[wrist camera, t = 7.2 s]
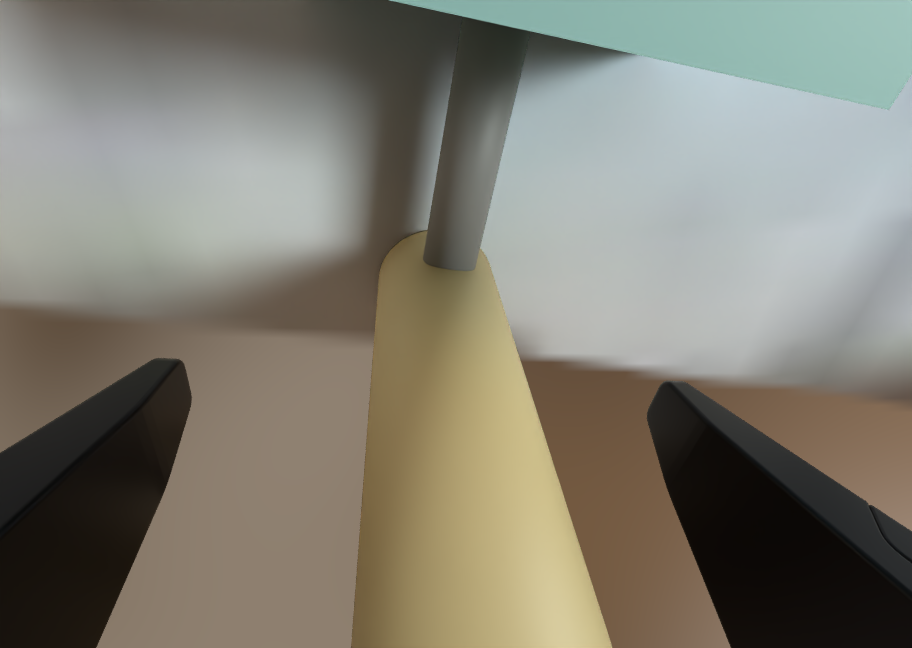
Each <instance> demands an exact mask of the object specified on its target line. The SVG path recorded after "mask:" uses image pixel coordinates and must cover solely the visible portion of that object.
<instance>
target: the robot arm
mask: <svg viewBox="0 0 912 648" xmlns="http://www.w3.org/2000/svg"><path fill="white" fill-rule="evenodd" d="M191 398H192V397H191V391H190V386H189V382H188V378H187V373H186V369H185V366H184V363H183V362H182V361H181V360H179V359H166V358H157V359H153V360H151V361H150V362H148V363H146V364H145V365H143V366H141V367H140V368H138V369H136V370H135V371H133V372H132V373H130V374H128V375H127V376H125V377H123V378H122V379H120V380H118V381H117V382H115V383H113V384H112V385H110V386H109V387H107V388H105V389H104V390H102V391H100V392H99V393H97V394H96V395H94V396H92V397H91V398H89V399H88V400H86V401H84V402H82V403H81V404H79V405H78V406H76V407H74V408H73V409H71V410H69V411H68V412H66V413H65V414H63V415H61V416H60V417H58V418H56V419H55V420H53V421H51V422H50V423H48V424H46V425H45V426H43V427H42V428H40V429H38V430H37V431H35V432H33V433H32V434H30V435H29V436H27V437H25V438H24V439H22V440H21V441H19V442H17V443H15V444H14V445H12V446H11V447H9V448H7V449H6V450H4V451H2V452H1V453H0V648H96V647H97V645H98V642H99V640H100V638H101V636H102V633H103V631H104V629H105V627H106V624H107V622H108V620H109V617H110V615H111V613H112V610H113V608H114V606H115V604H116V601H117V599H118V597H119V594H120V592H121V590H122V588H123V585H124V583H125V581H126V578H127V576H128V574H129V572H130V569H131V567H132V565H133V562H134V560H135V558H136V555H137V553H138V551H139V549H140V546H141V544H142V542H143V540H144V537H145V535H146V533H147V530H148V528H149V526H150V524H151V521H152V519H153V516H154V514H155V512H156V510H157V507H158V505H159V503H160V501H161V498H162V496H163V493H164V491H165V488H166V486H167V482H168V480H169V477H170V474H171V470H172V466H173V464H174V460H175V457H176V454H177V450H178V447H179V444H180V441H181V437H182V434H183V431H184V427H185V424H186V420H187V417H188V414H189V411H190V407H191ZM647 421H648V425H649V428H650V432H651V435H652V439H653V442H654V446H655V449H656V452H657V456H658V460H659V463H660V467H661V470H662V473H663V477H664V480H665V483H666V486H667V489H668V492H669V495H670V498H671V500H672V503H673V505H674V508H675V510H676V512H677V515H678V518H679V520H680V522H681V525H682V528H683V530H684V532H685V535H686V537H687V540H688V542H689V545H690V547H691V550H692V552H693V555H694V557H695V560H696V562H697V565H698V567H699V570H700V572H701V575H702V577H703V580H704V582H705V584H706V587H707V590H708V592H709V594H710V597H711V599H712V602H713V604H714V607H715V609H716V612H717V614H718V617H719V619H720V622H721V624H722V627H723V629H724V631H725V634H726V637H727V639H728V642H729V644H730V647H731V648H912V531H910V530H909V529H907V528H906V527H904V526H903V525H901V524H899V523H898V522H897V521H895V520H893V519H892V518H890V517H889V516H887V515H886V514H884V513H883V512H881V511H880V510H878V509H877V508H875V507H874V506H872V505H868V503H867V502H866V501H865V500H863V499H862V498H860V497H859V496H857V495H856V494H854V493H852V492H851V491H850V490H848V489H846V488H845V487H843V486H842V485H840V484H839V483H837V482H836V481H834V480H833V479H831V478H830V477H828V476H827V475H825V474H824V473H822V472H821V471H819V470H818V469H816V468H815V467H813V466H812V465H810V464H808V463H807V462H806V461H804V460H802V459H801V458H800V457H798V456H797V455H795V454H793V453H792V452H790V451H789V450H787V449H786V448H784V447H783V446H781V445H780V444H778V443H777V442H775V441H774V440H772V439H771V438H769V437H768V436H766V435H765V434H763V433H762V432H760V431H758V430H757V429H756V428H754V427H753V426H751V425H750V424H748V423H747V422H745V421H744V420H742V419H741V418H739V417H737V416H736V415H735V414H733V413H732V412H730V411H729V410H727V409H725V408H724V407H722V406H721V405H719V404H718V403H716V402H715V401H713V400H712V399H710V398H709V397H707V396H706V395H704V394H703V393H701V392H700V391H698V390H697V389H695V388H694V387H692V386H691V385H689V384H688V383H686V382H683V381H664V382H663V383H662V384H661V385H660V387H659V389H658V391H657V393H656V395H655V397H654V399H653V400H652V403H651V404H650V407H649V409H648V412H647Z"/></svg>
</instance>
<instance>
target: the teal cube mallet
mask: <svg viewBox="0 0 912 648" xmlns="http://www.w3.org/2000/svg"><path fill="white" fill-rule="evenodd" d="M390 1H395V2H399V3H404V4H409V5H413V6H418V7H422V8H427V9H431V10H436V11H440V12H445V13H450V14H454V15H459V16H463V17H462V23H461V29H460V35H459V42H458V48H457V54H456V60H455V66H454V72H453V78H452V84H451V90H450V96H449V102H448V109H447V115H446V121H445V127H444V133H443V139H442V145H441V151H440V157H439V163H438V169H437V176H436V182H435V188H434V194H433V200H432V206H431V212H430V218H429V224H428V230H427V231H423V232H419V233H416V234H413V235H411V236H409V237H407V238H405V239H403V240H402V241H400V242H399V243H398V244H396V245H395V246H394V247H393V248H392V249H391V250H390V251H389V253H388V254H387V256H386V257H385V259H384V261H383V263H382V265H381V268H380V273H379V281H378V294H377V308H376V321H375V335H374V348H373V362H372V375H371V388H370V402H369V415H368V428H367V442H366V456H365V469H364V482H363V495H362V509H361V522H360V523H361V524H360V536H359V549H358V562H357V576H356V590H355V602H354V616H353V629H352V644H351V648H612V645H611V642H610V639H609V636H608V633H607V629H606V626H605V623H604V620H603V617H602V614H601V611H600V608H599V605H598V601H597V598H596V595H595V592H594V589H593V586H592V583H591V579H590V577H589V573H588V570H587V567H586V564H585V561H584V558H583V554H582V551H581V548H580V545H579V542H578V539H577V536H576V533H575V529H574V526H573V523H572V520H571V517H570V514H569V511H568V508H567V505H566V501H565V498H564V496H563V492H562V489H561V486H560V483H559V480H558V477H557V474H556V470H555V467H554V464H553V461H552V458H551V455H550V452H549V448H548V445H547V442H546V439H545V436H544V433H543V430H542V427H541V423H540V420H539V417H538V414H537V411H536V408H535V405H534V402H533V399H532V396H531V393H530V389H529V386H528V383H527V380H526V377H525V374H524V370H523V367H522V364H521V361H520V358H519V355H518V352H517V349H516V345H515V342H514V339H513V336H512V333H511V330H510V327H509V324H508V320H507V317H506V314H505V311H504V308H503V305H502V302H501V299H500V296H499V292H498V289H497V286H496V283H495V280H494V277H493V274H492V271H491V267H490V264H489V262H488V260H487V257H486V256H485V254H484V253H483V251H482V250H481V249H480V245H481V241H482V237H483V233H484V228H485V224H486V220H487V216H488V211H489V207H490V203H491V199H492V194H493V190H494V186H495V181H496V177H497V173H498V169H499V164H500V160H501V156H502V152H503V147H504V143H505V139H506V134H507V130H508V126H509V122H510V117H511V113H512V109H513V105H514V100H515V96H516V92H517V88H518V83H519V79H520V75H521V70H522V66H523V62H524V58H525V53H526V49H527V45H528V41H529V36H530V32H536V33H541V34H545V35H550V36H554V37H559V38H563V39H568V40H572V41H577V42H582V43H586V44H591V45H595V46H600V47H604V48H609V49H613V50H618V51H623V52H627V53H632V54H636V55H641V56H645V57H650V58H654V59H659V60H664V61H668V62H673V63H677V64H682V65H686V66H691V67H695V68H700V69H705V70H709V71H714V72H718V73H723V74H727V75H732V76H736V77H741V78H746V79H750V80H755V81H759V82H764V83H768V84H773V85H777V86H782V87H786V88H791V89H796V90H800V91H805V92H809V93H814V94H818V95H823V96H827V97H832V98H837V99H841V100H846V101H850V102H855V103H859V104H864V105H868V106H873V107H878V108H882V109H887V110H889V109H890V108H891V106H892V104H893V103H894V101H895V100H896V98H897V97H898V95H899V93H900V92H901V90H902V89H903V87H904V86H905V84H906V83H907V81H908V79H909V78H910V76H911V75H912V0H390Z"/></svg>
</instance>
